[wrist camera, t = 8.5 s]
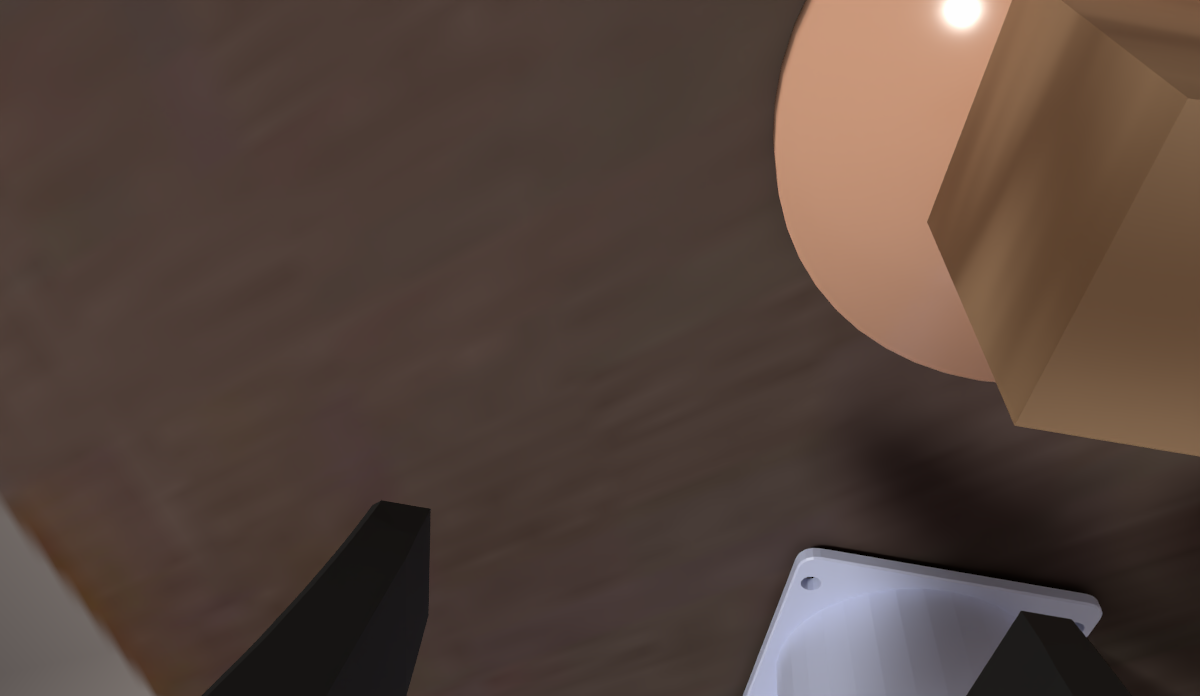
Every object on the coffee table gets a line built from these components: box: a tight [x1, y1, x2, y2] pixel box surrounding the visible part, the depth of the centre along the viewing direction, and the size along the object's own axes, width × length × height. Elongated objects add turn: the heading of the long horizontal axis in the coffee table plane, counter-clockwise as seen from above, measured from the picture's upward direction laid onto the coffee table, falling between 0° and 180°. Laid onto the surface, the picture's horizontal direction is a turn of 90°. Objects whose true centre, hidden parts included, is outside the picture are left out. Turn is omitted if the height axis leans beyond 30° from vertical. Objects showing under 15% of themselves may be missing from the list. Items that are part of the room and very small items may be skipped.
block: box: [927, 0, 1200, 456], centre depth 13 cm, size 4×4×6 cm
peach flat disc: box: [773, 0, 1012, 382], centre depth 16 cm, size 11×11×1 cm
